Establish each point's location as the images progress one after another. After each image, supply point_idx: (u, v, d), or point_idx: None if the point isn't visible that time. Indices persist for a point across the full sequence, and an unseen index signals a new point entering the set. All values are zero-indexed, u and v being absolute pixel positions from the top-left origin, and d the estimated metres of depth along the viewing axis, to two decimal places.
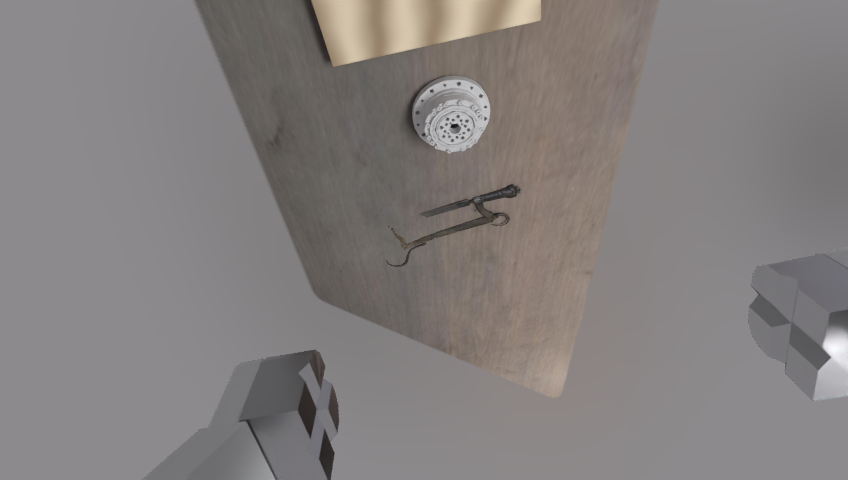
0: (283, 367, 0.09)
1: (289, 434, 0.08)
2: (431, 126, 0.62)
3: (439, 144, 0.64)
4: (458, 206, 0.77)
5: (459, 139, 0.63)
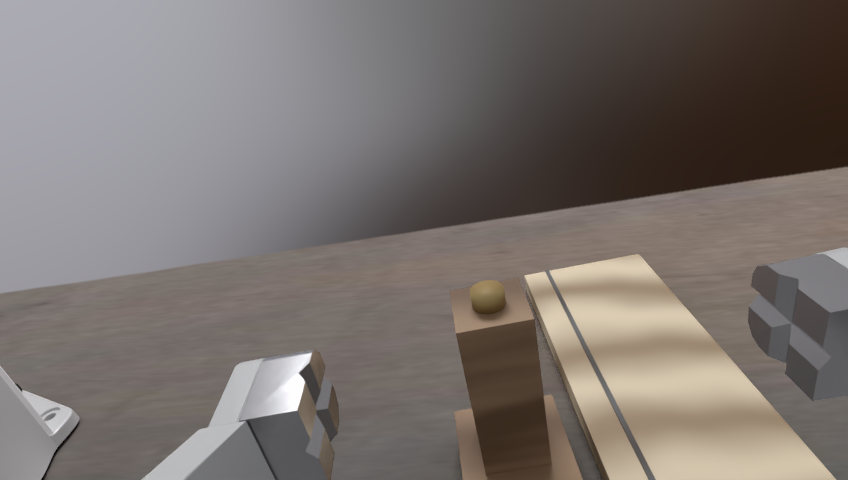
0: (283, 367, 0.09)
1: (289, 434, 0.08)
2: None
3: None
4: None
5: None
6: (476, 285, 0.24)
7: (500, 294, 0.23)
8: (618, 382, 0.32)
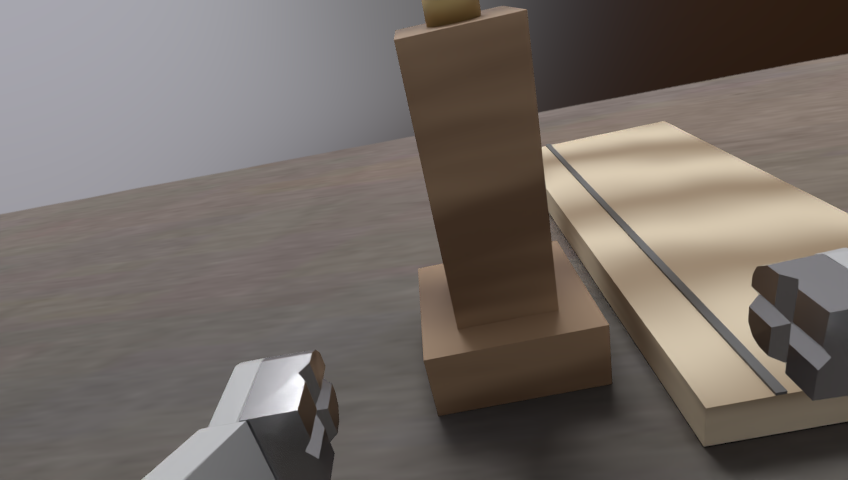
0: (283, 367, 0.09)
1: (289, 434, 0.08)
2: None
3: None
4: None
5: None
6: None
7: None
8: (651, 229, 0.22)
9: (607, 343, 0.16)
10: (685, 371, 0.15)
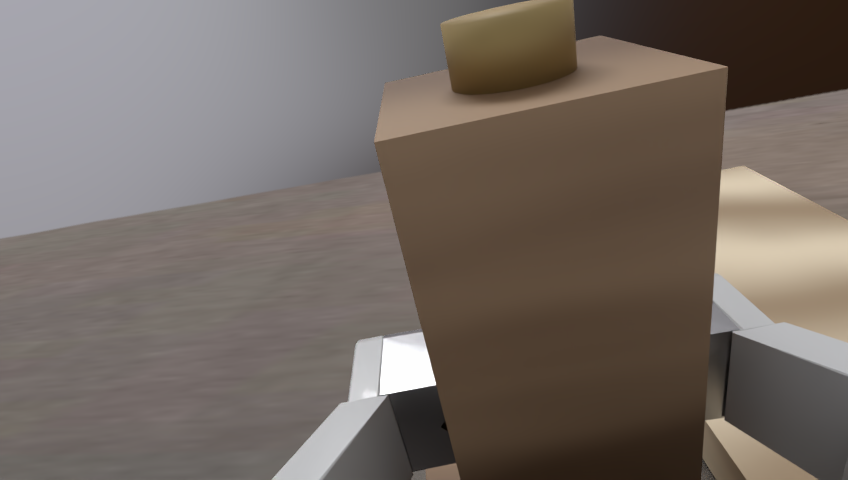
0: (409, 343, 0.09)
1: (428, 409, 0.08)
2: None
3: None
4: None
5: None
6: (466, 16, 0.07)
7: (562, 3, 0.06)
8: None
9: None
10: None
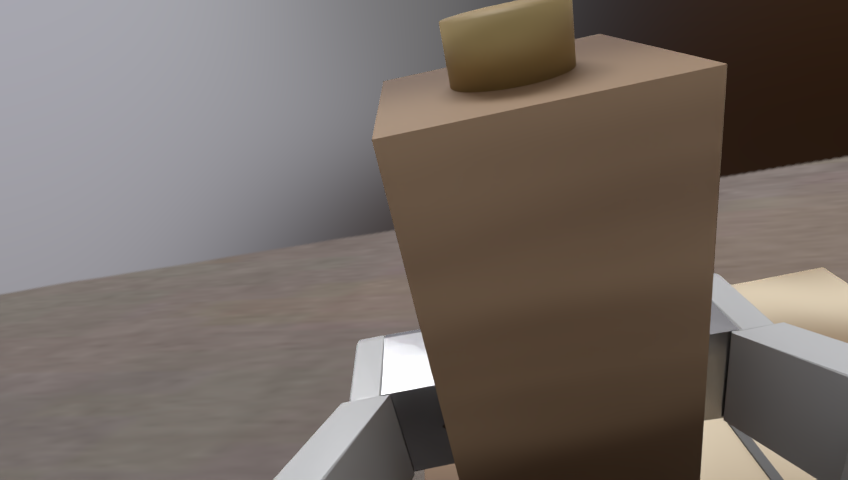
0: (410, 343, 0.09)
1: (429, 408, 0.08)
2: None
3: None
4: None
5: None
6: (465, 14, 0.07)
7: (561, 1, 0.06)
8: None
9: None
10: None
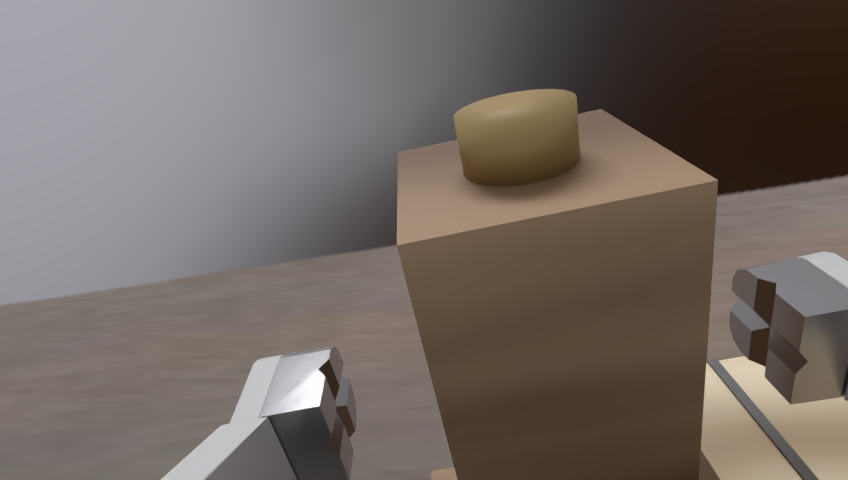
0: (302, 363, 0.09)
1: (310, 430, 0.08)
2: None
3: None
4: None
5: None
6: (477, 104, 0.07)
7: (567, 107, 0.06)
8: None
9: None
10: None
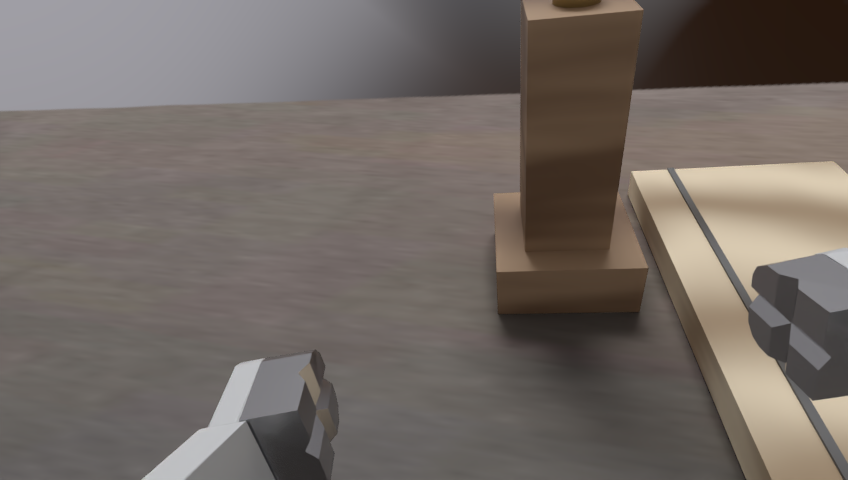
0: (283, 367, 0.09)
1: (289, 434, 0.08)
2: None
3: None
4: None
5: None
6: None
7: None
8: None
9: (643, 281, 0.21)
10: None
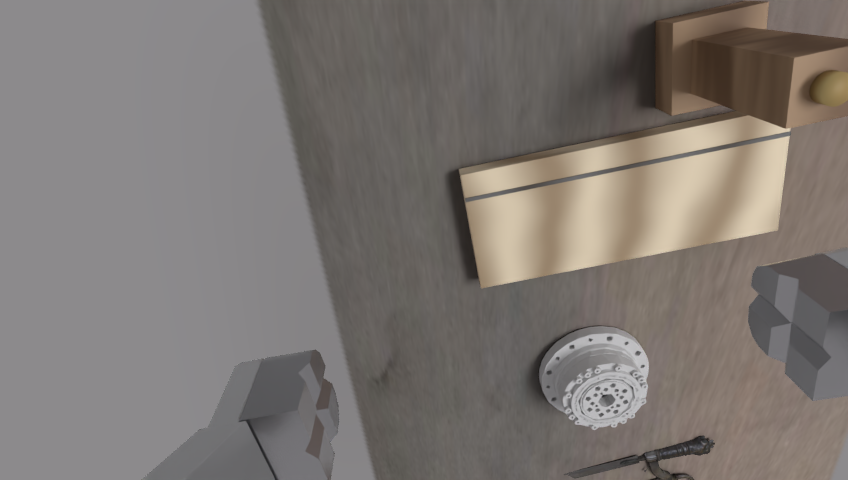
0: (283, 367, 0.09)
1: (289, 434, 0.08)
2: (574, 397, 0.44)
3: (582, 419, 0.45)
4: (622, 464, 0.54)
5: (611, 413, 0.45)
6: None
7: (824, 103, 0.24)
8: (597, 184, 0.38)
9: (666, 112, 0.35)
10: (479, 173, 0.37)
